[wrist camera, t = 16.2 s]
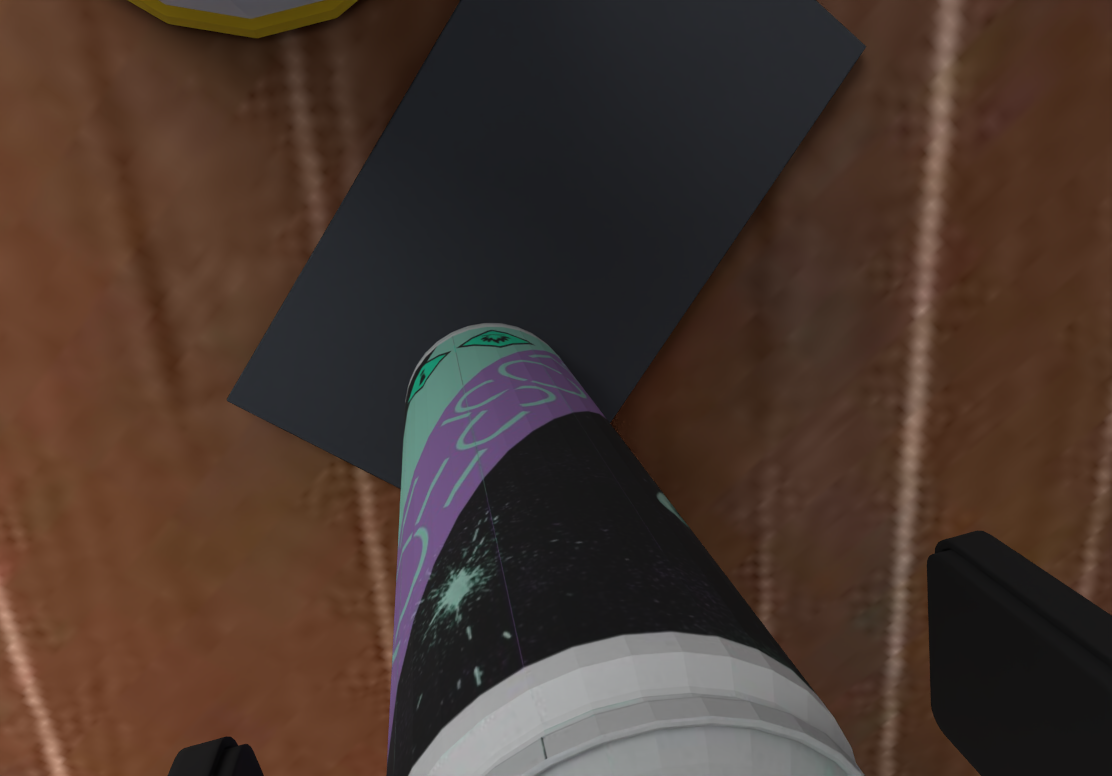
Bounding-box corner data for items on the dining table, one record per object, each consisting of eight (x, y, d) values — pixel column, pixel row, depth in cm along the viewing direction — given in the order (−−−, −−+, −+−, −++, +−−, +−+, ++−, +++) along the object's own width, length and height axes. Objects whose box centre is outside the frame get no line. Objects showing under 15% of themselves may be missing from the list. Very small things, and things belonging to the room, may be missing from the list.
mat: (858, 48, 23) (867, 46, 23) (521, 544, 26) (523, 551, 26) (580, -205, 20) (585, -214, 19) (229, 396, 23) (225, 401, 22)
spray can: (585, 333, 24) (1234, 966, 5) (556, 487, 25) (976, 1439, 6) (416, 310, 23) (412, 1031, 4) (395, 473, 24) (316, 1602, 5)
